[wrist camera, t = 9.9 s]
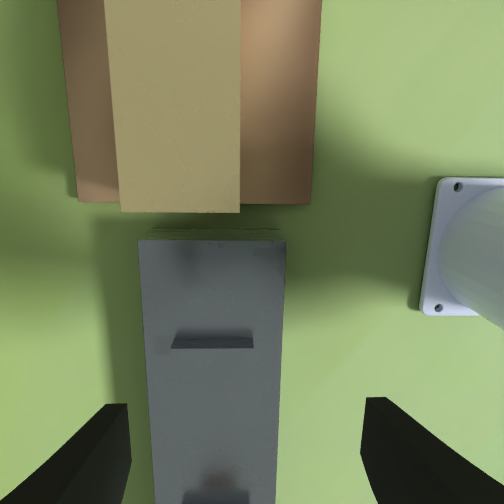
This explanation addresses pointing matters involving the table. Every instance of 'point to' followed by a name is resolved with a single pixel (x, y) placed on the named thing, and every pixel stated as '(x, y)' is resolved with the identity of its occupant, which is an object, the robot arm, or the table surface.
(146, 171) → the tan rectangular block
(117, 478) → the robot arm
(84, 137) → the walnut board
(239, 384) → the body
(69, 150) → the table surface
